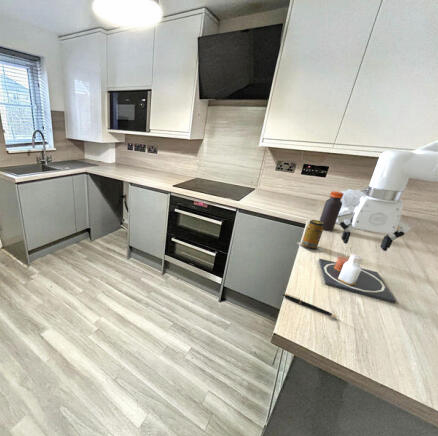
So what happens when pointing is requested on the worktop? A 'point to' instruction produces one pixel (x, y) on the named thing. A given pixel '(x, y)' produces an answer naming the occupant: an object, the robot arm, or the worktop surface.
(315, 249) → the condiment
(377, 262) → the worktop surface
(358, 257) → the pepper shaker
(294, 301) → the fountain pen
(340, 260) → the red faceted block
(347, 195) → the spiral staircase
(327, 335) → the worktop surface
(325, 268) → the face board
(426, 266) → the worktop surface
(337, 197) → the bottle
